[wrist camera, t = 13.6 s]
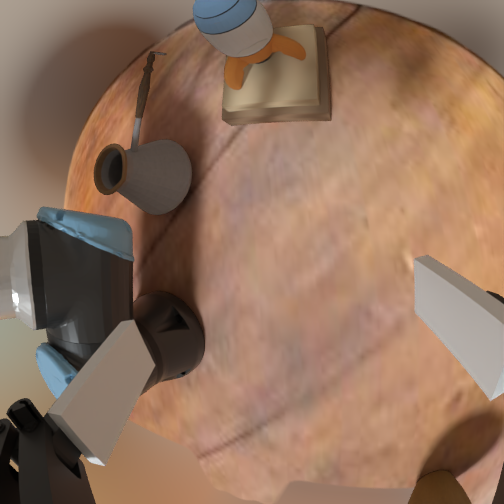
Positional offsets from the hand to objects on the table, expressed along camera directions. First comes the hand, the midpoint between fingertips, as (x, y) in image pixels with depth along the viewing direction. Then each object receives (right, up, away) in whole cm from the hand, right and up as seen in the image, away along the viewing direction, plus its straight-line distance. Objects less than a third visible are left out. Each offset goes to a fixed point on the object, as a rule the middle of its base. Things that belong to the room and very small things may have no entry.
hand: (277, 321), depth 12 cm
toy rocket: (+1, +27, +18) cm, 32 cm away
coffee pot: (-12, +19, +29) cm, 36 cm away
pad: (+3, +27, +22) cm, 35 cm away
